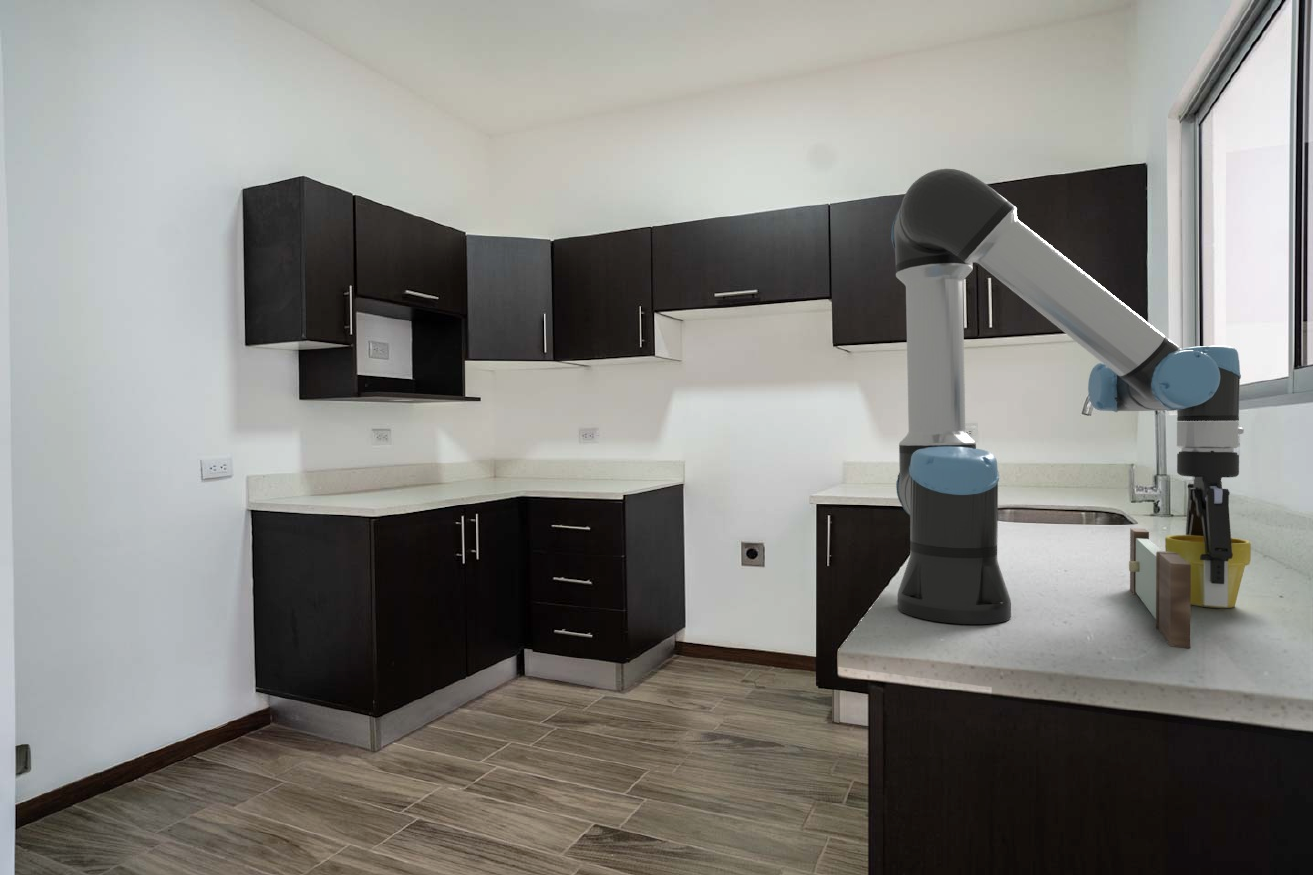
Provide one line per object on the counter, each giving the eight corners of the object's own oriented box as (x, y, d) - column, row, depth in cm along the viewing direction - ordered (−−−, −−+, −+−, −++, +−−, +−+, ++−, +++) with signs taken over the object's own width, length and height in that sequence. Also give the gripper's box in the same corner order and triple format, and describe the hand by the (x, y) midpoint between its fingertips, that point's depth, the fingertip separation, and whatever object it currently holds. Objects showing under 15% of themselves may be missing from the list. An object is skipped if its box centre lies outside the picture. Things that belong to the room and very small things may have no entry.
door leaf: (1147, 621, 101) (1147, 557, 101) (1126, 591, 120) (1126, 537, 120) (1172, 623, 100) (1172, 559, 100) (1147, 592, 119) (1147, 538, 119)
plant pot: (1166, 593, 121) (1166, 531, 121) (1248, 601, 115) (1249, 537, 115) (1163, 605, 112) (1164, 539, 112) (1252, 615, 106) (1252, 545, 106)
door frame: (1168, 645, 91) (1168, 563, 91) (1128, 588, 124) (1128, 528, 124) (1192, 648, 90) (1192, 564, 90) (1145, 590, 123) (1146, 528, 123)
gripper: (1261, 452, 101) (1259, 617, 102) (1219, 448, 122) (1219, 585, 122) (1193, 451, 105) (1192, 611, 105) (1164, 448, 125) (1163, 581, 125)
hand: (1206, 597), depth 114 cm, fingers closed on plant pot, 10 cm apart
